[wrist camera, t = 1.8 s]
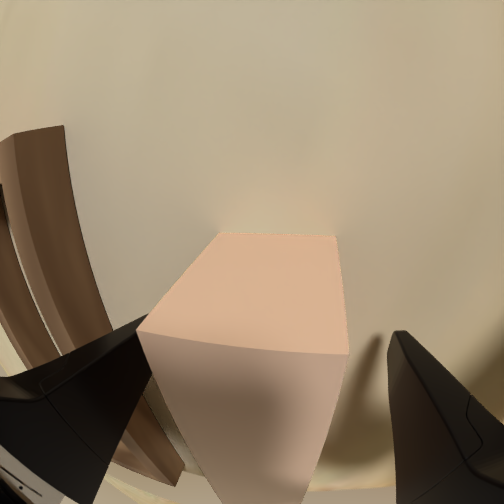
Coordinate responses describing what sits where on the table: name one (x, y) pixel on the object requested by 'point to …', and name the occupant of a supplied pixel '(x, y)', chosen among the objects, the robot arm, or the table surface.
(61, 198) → the frame
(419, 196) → the table surface
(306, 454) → the clay strip
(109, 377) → the robot arm
